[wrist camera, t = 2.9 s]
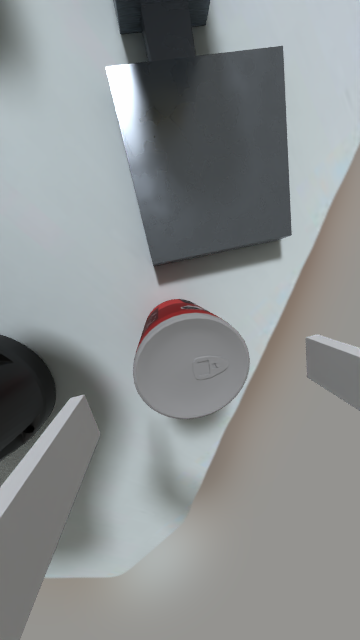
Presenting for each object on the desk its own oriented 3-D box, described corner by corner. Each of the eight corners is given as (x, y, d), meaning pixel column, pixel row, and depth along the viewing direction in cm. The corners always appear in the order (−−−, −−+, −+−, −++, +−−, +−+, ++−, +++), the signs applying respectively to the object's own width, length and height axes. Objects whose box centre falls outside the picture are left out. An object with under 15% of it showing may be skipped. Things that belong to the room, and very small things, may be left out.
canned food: (214, 339, 23) (264, 389, 12) (161, 365, 22) (164, 439, 12) (192, 287, 21) (228, 292, 10) (134, 314, 21) (108, 349, 10)
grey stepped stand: (153, 266, 20) (149, 249, 10) (64, -104, 13) (-219, -1270, 3) (279, 239, 21) (384, 201, 11) (257, -112, 14) (473, -974, 4)
